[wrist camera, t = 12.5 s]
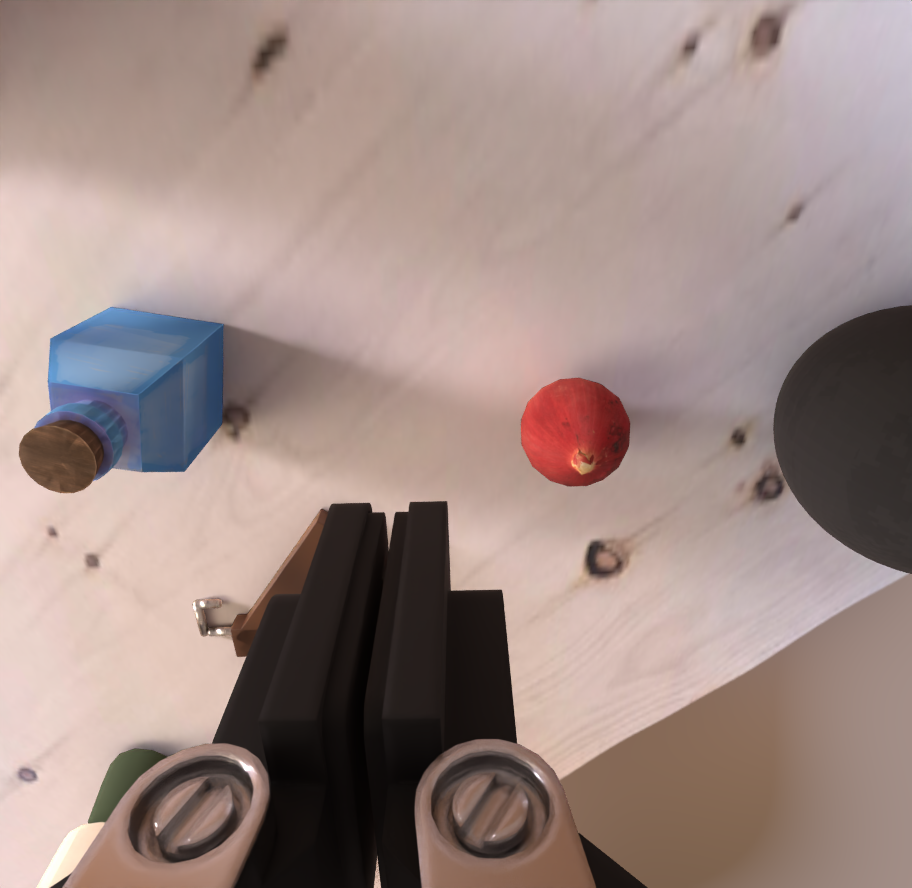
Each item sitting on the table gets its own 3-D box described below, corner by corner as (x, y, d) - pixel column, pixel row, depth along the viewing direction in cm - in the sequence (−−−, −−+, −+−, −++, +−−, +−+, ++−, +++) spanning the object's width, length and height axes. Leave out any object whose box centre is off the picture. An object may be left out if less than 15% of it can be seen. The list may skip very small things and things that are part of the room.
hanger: (227, 726, 51) (220, 743, 50) (171, 514, 43) (161, 528, 42) (375, 720, 51) (372, 738, 50) (346, 507, 43) (342, 520, 42)
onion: (615, 356, 39) (651, 409, 32) (613, 446, 41) (646, 515, 34) (513, 363, 39) (526, 417, 32) (517, 453, 41) (530, 522, 34)
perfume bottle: (223, 324, 38) (130, 403, 27) (222, 424, 41) (136, 532, 30) (111, 307, 38) (-30, 380, 27) (116, 409, 40) (-9, 513, 29)
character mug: (123, 816, 56) (33, 1002, 44) (69, 760, 53) (-43, 941, 41) (237, 780, 54) (175, 963, 42) (187, 719, 51) (106, 897, 39)
